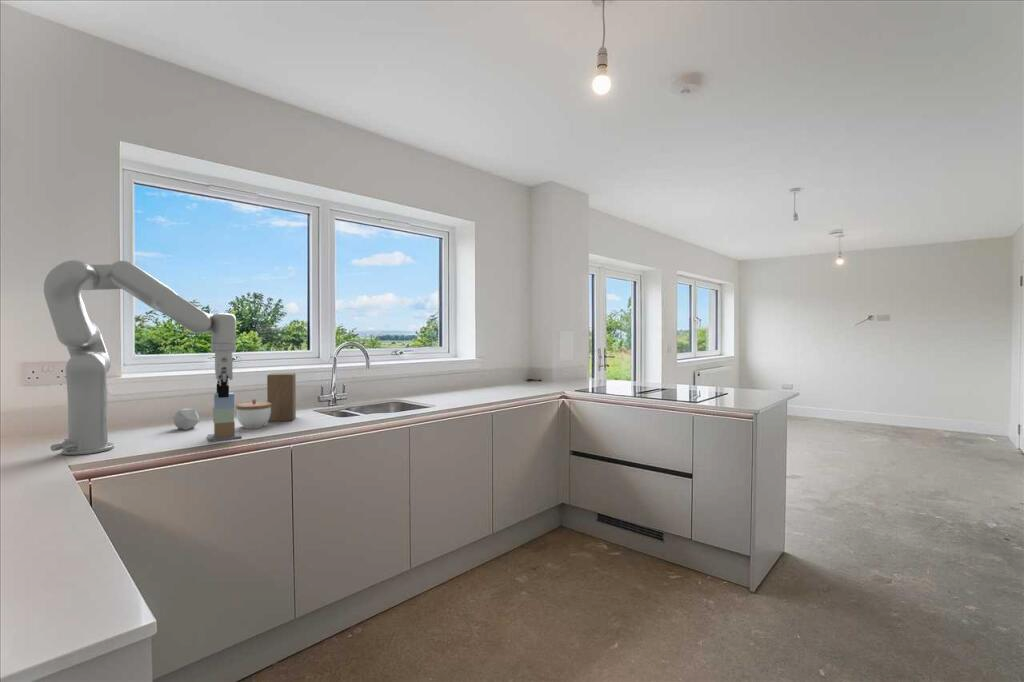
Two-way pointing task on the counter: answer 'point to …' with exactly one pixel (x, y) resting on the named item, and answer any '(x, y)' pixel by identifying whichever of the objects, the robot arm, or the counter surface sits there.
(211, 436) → the tower base
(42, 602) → the counter surface
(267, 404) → the lidded bowl
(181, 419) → the die
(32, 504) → the counter surface
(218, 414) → the green brick
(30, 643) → the counter surface
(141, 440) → the counter surface
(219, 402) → the light blue block
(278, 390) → the wooden block
